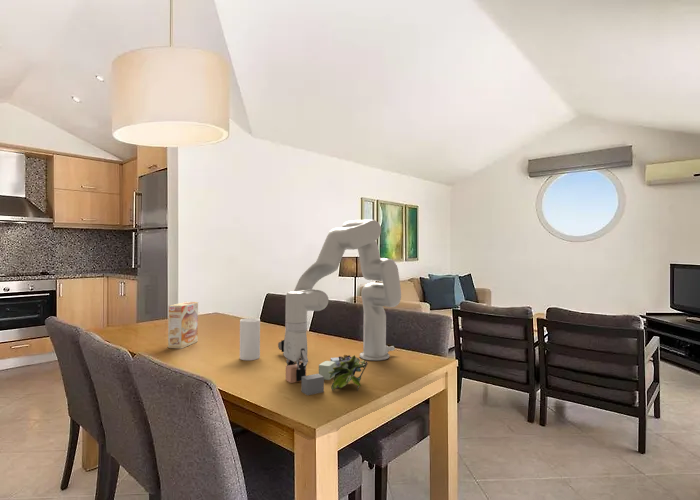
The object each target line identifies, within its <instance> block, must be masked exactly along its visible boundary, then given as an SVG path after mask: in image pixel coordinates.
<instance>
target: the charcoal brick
mask: <svg viewBox="0 0 700 500" xmlns="http://www.w3.org/2000/svg"><path fill="white" fill-rule="evenodd" d="M300 387H301V390H300V391H301V393H302V394H304V395H306V396H310V395H311V396H312V395H315V394H316V395H317V394H321V393H324V392H325V380H324V377H323V376H321V375H319V373H315V374H309V375H306V376H302V381H301V386H300Z"/></svg>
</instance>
